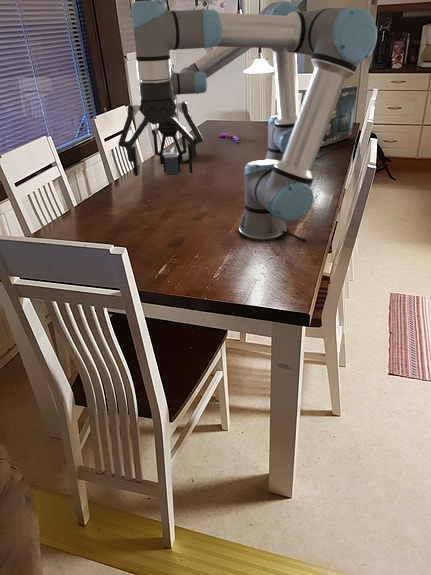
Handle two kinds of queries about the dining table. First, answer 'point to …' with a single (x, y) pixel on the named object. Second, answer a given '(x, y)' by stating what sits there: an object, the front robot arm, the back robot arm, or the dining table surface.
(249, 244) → the dining table surface
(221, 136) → the handgun
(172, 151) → the fossil
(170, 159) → the brick
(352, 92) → the router box
